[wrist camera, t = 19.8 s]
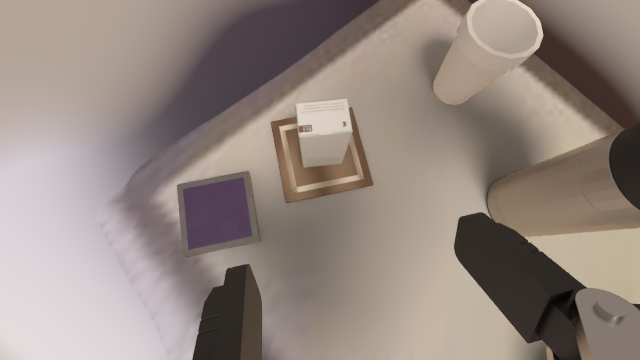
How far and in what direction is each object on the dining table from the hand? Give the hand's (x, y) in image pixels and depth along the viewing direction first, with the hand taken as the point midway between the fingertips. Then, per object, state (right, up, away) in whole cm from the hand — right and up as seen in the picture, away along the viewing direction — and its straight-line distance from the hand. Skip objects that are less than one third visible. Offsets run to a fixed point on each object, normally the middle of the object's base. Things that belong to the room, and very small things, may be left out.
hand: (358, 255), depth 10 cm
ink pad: (-16, -2, +29) cm, 33 cm away
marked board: (-1, +7, +32) cm, 32 cm away
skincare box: (-1, +7, +31) cm, 32 cm away
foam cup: (+21, +18, +36) cm, 45 cm away
